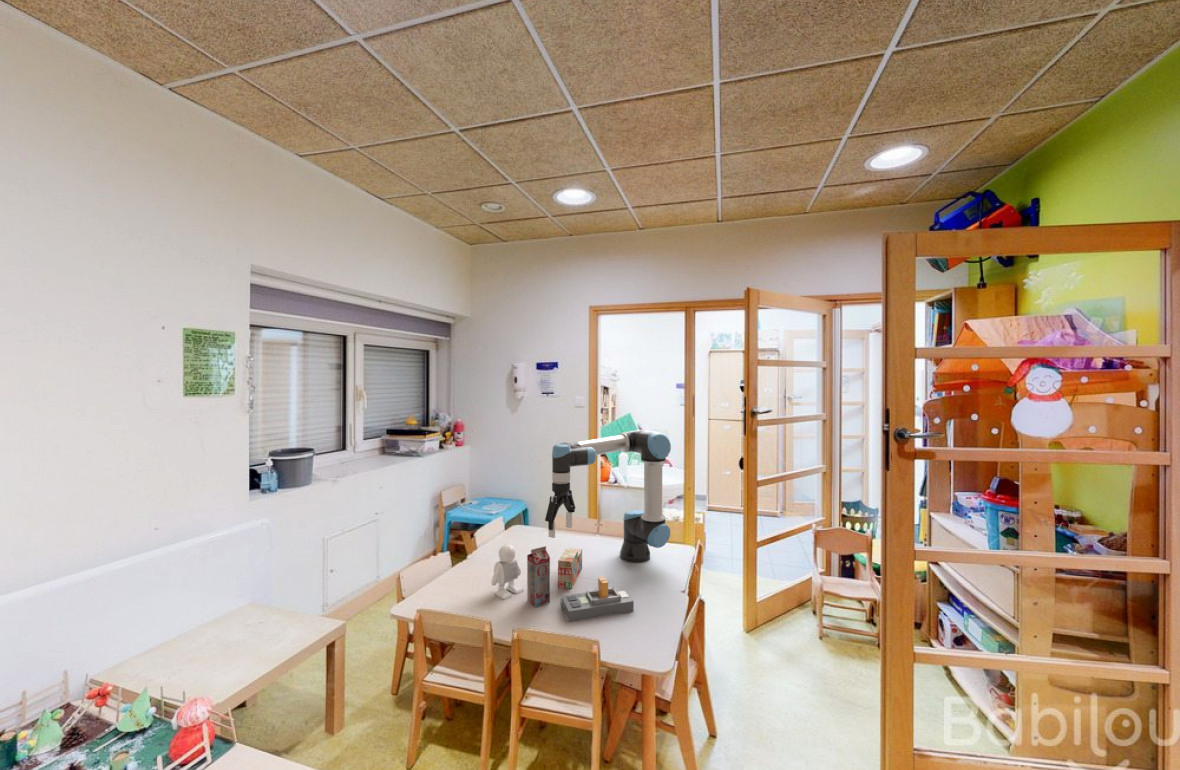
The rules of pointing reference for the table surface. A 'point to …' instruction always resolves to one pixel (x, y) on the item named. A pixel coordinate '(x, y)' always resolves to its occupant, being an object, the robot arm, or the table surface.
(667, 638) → the table surface
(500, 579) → the toy robot
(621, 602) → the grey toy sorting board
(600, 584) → the breaker lever
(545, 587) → the juice carton
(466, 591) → the table surface
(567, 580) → the stack of blocks
